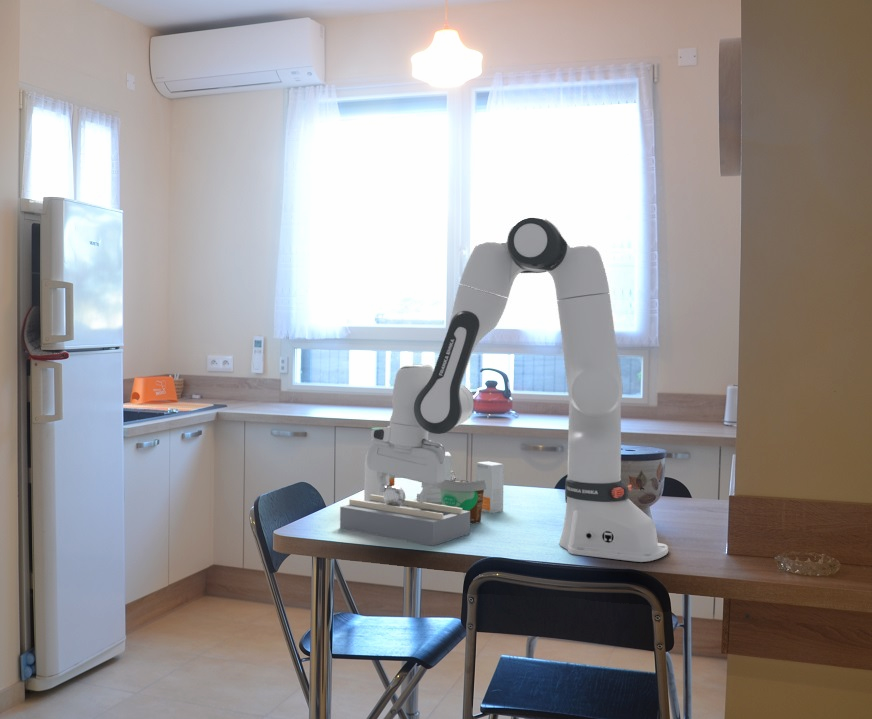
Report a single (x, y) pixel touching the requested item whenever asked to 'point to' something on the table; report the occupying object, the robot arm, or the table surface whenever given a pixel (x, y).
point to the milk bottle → (374, 480)
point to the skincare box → (491, 485)
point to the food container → (464, 496)
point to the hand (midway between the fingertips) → (402, 497)
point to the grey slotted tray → (406, 520)
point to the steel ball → (394, 496)
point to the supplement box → (435, 493)
